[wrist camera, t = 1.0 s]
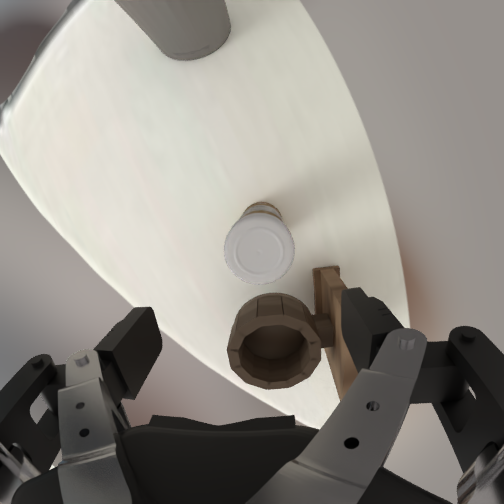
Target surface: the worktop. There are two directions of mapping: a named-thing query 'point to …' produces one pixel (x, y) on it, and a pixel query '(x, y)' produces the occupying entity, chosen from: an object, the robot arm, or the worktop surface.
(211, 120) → the worktop surface
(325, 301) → the bracket
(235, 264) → the sprinkles bottle
